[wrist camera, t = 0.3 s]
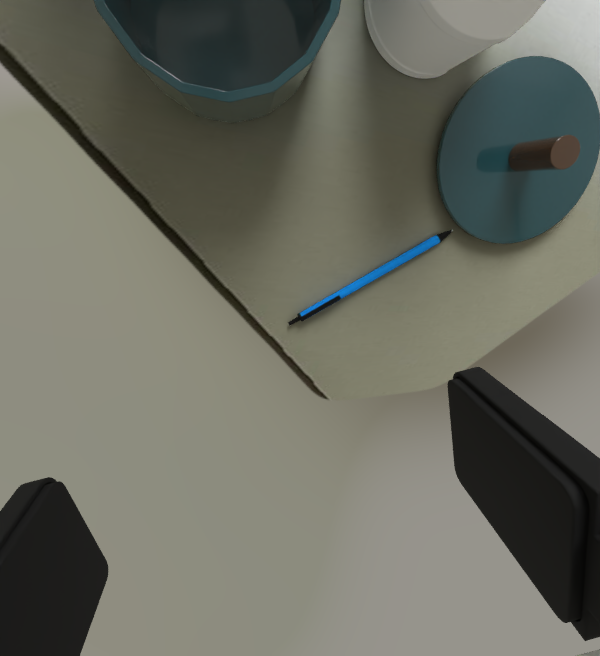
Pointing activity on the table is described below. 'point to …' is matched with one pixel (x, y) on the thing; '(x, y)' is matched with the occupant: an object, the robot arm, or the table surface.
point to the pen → (371, 276)
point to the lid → (518, 149)
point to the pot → (223, 49)
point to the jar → (441, 30)
